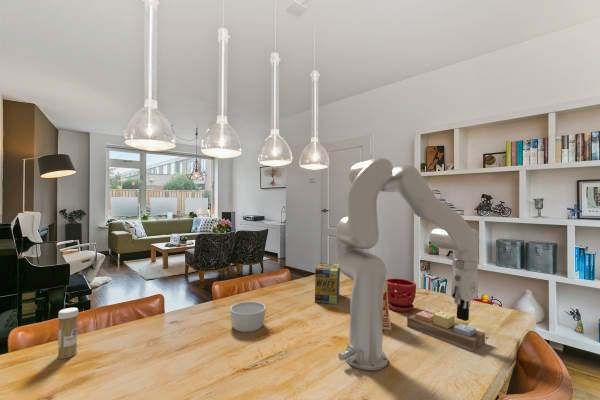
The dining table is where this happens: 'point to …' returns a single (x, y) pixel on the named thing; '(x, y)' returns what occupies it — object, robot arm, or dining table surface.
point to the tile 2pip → (443, 319)
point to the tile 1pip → (464, 330)
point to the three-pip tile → (425, 316)
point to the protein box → (327, 283)
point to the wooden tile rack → (447, 334)
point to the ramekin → (247, 316)
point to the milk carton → (386, 309)
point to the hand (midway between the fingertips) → (462, 319)
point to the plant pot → (401, 294)
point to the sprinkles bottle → (67, 332)
